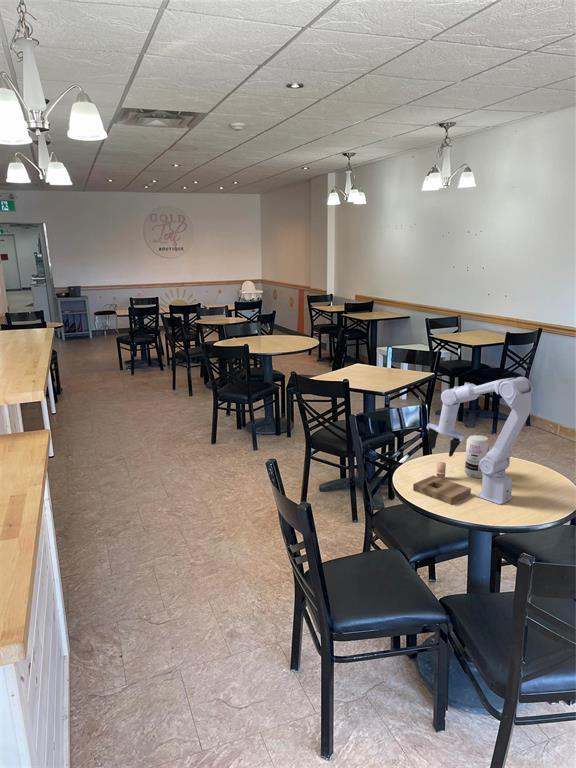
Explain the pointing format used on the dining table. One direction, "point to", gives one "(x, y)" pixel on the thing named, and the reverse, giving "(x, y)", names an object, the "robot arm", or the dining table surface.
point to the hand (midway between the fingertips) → (441, 452)
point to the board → (442, 489)
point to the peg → (441, 469)
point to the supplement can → (475, 454)
